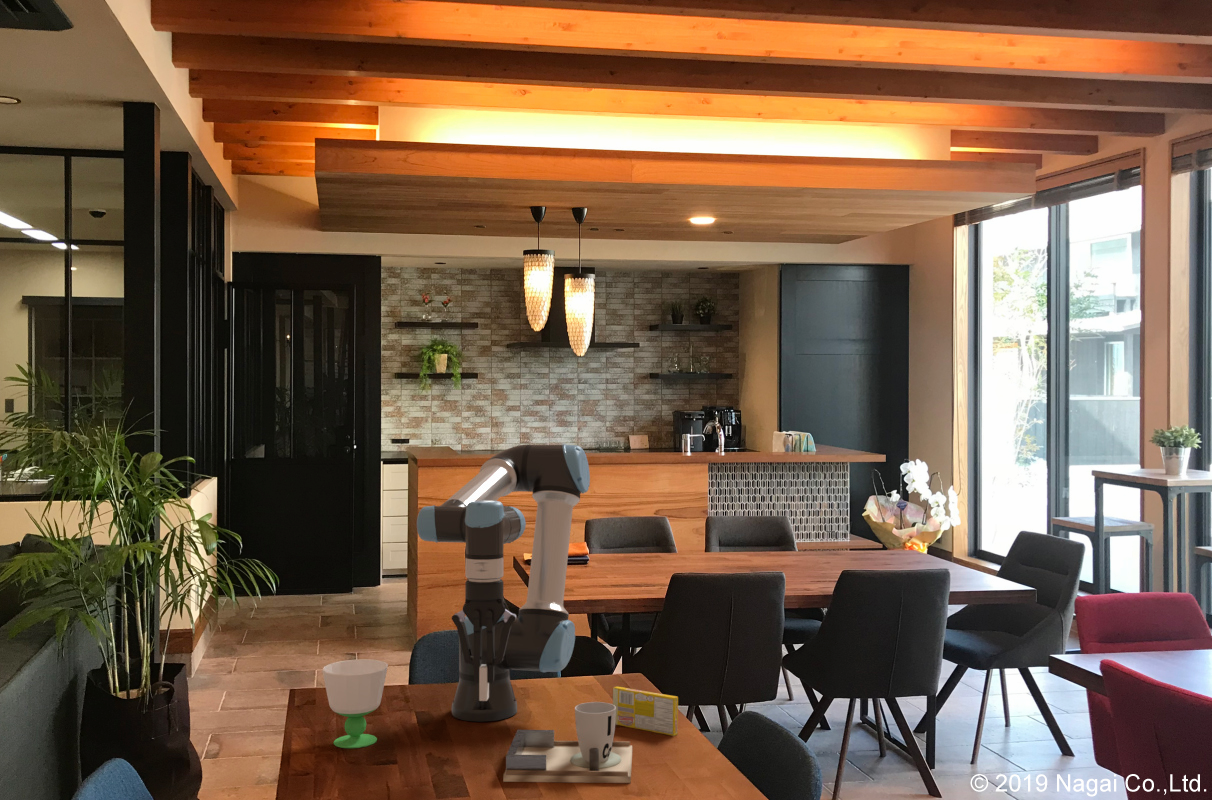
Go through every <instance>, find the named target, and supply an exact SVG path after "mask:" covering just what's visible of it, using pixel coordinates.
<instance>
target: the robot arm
mask: <svg viewBox="0 0 1212 800" xmlns="http://www.w3.org/2000/svg"><path fill="white" fill-rule="evenodd" d="M590 481H591V475H590V466H589V461H588V457H587V455H586V452H585V451H584V449H583V448H582V447H581V446H580V445H576V444H566V443H563V444H520V445H515V446H512V447H510V448H507V449H505V450H502V451H500V452H498V453H497V454H495V455H493V456H492V457H490V458H489V459H487V460H486V461H485V462H484V463H483V464H482V465H481V467H480V469H479V472H478V473H477V474H475V476H474V477H473V478H471V479H470V480H469V481H468V482H467V483H466V484H464V485H463V486H462V487H461V488H459V490H457V491H456V492H454V494H452V495H451V496H450V497H449V498H448V499H447V500H446V501H444V502H443V503H442V504H441V505H428V506H427V505H426V506H423V507H422V508H420V510H419V512H418V515H417V517H416V518H417V519H416V529H417V530H416V531H417V534H418V536H419V538H420V539H421V540H422V541H425V542H434V543H465V566H464V567H465V570H464V571H465V577H466V579H467V580H465V584H464V585H465V587H464V590H465V591H464V593H465V596H464V597H465V598H464V599H465V601H464V604H463V606H462V610H460V611H458V612H455V613H454V614H453V615H452V616H451V620H452V622H453V623H454V625H455V627H456V630H457V634H458V652H459V653H458V656H459V657H458V658H459V659H458V661H459V663H458V665H459V675H458V676H459V681H458V683H457V687H456V691H455V695H454V699H453V701H452V703H451V715H452V716H453V717H454V718H455V719H458V720H460V721H461V720H462V721H467V722H483V723H484V722H493V721H494V722H496V721H500V720H505V719H508V718H510V717H511V718H512V717H513V716H515V715H516V714H517V713H518V701H517V698H516V695H515V692H514V691H515V690H514V689H513V685H512V682H511V677H510V670H512V671H513V670H515V671H529V672H530V671H531V672H541V673H547V672H550V673H555V672H557V673H558V672H561V671H563V670H564V669H565V668H566V667H567V666H568V663H569V662H570V660H571V657H572V655H573V651H574V647H575V643H576V642H575V641H576V627H575V626H576V625H575V623H574V622H573V621H571V620H570V619H569V612H568V611H567V610H566V608H565V607H564V600H565V599H564V598H565V591H566V590H565V589H566V582H567V581H566V580H567V569H568V560H569V559H568V557H569V549H570V540H571V538H570V537H571V528H572V519H573V509H574V508H575V506H577V504H579V503H580V500H581V494H585V493H587V492H588V491H589V489H590V488H589V487H590V484H591V482H590ZM514 492H522V493H523V492H525V493H527V492H528V493H531V494H532V496H531V497H532V498H533V500H534V501H535V502H536V504H537V505H536V506H537V508H536V516H535V523H534V532H533V534H534V535H533V541H532V549H531V550H532V551H531V559H530V569H529V576H528V577H529V579H528V585H527V586H528V588H527V595H526V602H525V603H524V605H522V606H521V607H520V608H519V609H518V616H517V614H516V613H513V612H511V611H509V610H508V609H507V605H506V604H505V601H504V581H503V579H502V578H503V577H504V574H505V573H504V568H505V567H504V563H505V562H504V547H505V546H504V545H506V544H511V543H514V542H515V541H516V540H518V539H520V537H522V535H523V534H524V532H525V530H526V525H527V524H526V523H527V522H526V519H525V516H524V515H525V514H523V512H522V511H521V510H520V509H518V508H517V507H514V506H509V505H508V506H507V505H504V504H503V503H502V502H501V501H499V499H500V498H501V497H506V496H508V495H510V494H511V493H514Z"/></svg>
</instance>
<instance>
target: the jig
mask: <svg viewBox="0 0 1212 800" xmlns="http://www.w3.org/2000/svg"><path fill="white" fill-rule="evenodd" d="M630 744H631V741H622V740H621V741H614V740H613V744H612V749H611V752H610V756H609V759H608V760H607V761H605V762H601V763H599V749H598V748H591V749H589V762H586V761H584V760H583V757H582V754H581V751H580V748H579V743H578V740H554V747H524V750H523V753H522V755H547V770H506V769H505V771H504V772H503V776H502V777H503V779H502V780H503V781H502V782H503V783H504V782H505V783H506V782H507V783H508V782H514V783H515V782H517V783H518V782H519V783H520V782H521V783H523V782H524V783H525V782H526V783H594V784H596V783H599V784H602V783H603V784H604V783H605V784H609V783H610V784H611V783H612V784H631V783H632V781H631V780H632V762H633V761H632V760H633V745H630Z"/></svg>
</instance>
